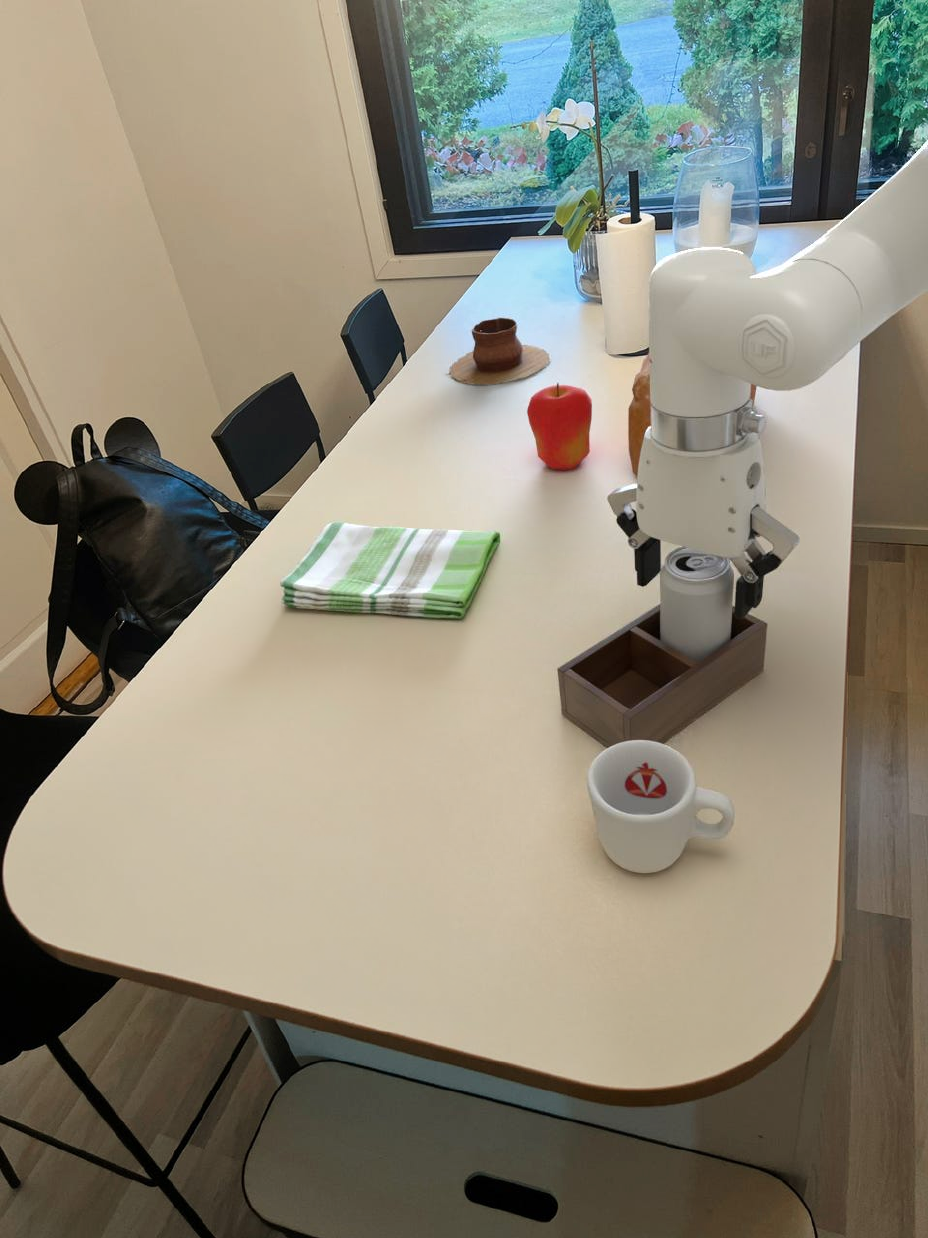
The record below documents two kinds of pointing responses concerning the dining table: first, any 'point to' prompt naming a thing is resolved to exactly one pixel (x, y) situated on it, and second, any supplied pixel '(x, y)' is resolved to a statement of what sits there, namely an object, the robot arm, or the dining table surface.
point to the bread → (644, 413)
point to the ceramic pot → (498, 355)
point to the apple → (561, 425)
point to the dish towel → (390, 570)
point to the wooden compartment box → (654, 680)
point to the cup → (650, 805)
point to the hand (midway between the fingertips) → (696, 593)
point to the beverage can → (696, 602)
